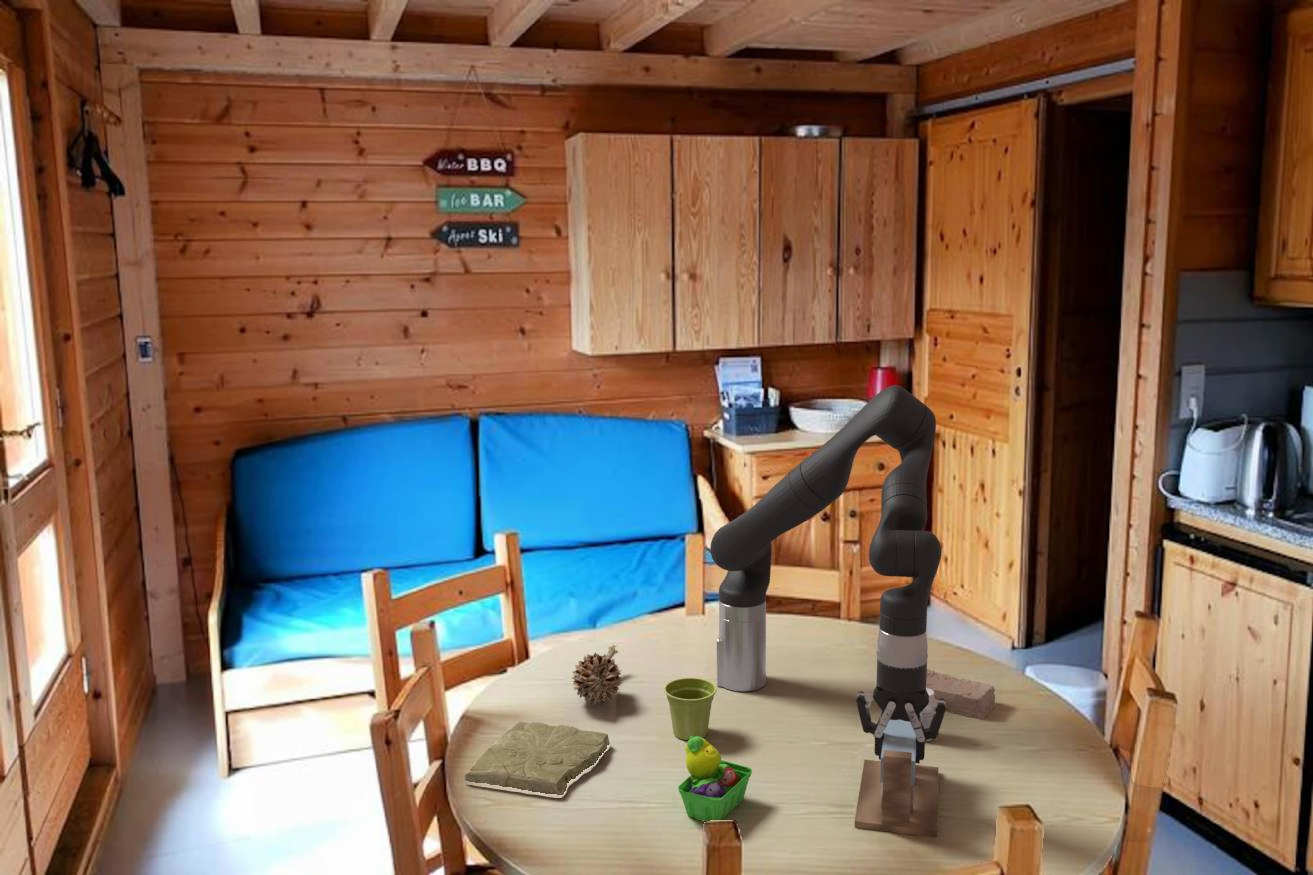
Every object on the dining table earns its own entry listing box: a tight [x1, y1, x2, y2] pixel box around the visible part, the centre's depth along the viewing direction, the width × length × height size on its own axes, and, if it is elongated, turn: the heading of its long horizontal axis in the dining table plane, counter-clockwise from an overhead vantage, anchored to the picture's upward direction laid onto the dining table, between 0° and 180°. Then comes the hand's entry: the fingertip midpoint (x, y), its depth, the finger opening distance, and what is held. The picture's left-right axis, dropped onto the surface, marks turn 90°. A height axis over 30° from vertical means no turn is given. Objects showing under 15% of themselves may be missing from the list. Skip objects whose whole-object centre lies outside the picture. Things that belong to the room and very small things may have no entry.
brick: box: [926, 668, 996, 720], centre depth 207 cm, size 17×8×5 cm, turn 55°
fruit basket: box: [677, 736, 753, 822], centre depth 170 cm, size 11×9×11 cm
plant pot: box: [663, 677, 718, 741], centre depth 195 cm, size 9×9×9 cm
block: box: [880, 720, 917, 786], centre depth 171 cm, size 5×14×4 cm, turn 165°
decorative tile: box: [464, 721, 611, 795], centre depth 185 cm, size 19×20×4 cm
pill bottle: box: [920, 688, 934, 743], centre depth 192 cm, size 5×5×8 cm
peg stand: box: [854, 750, 939, 838], centre depth 171 cm, size 12×20×12 cm, turn 165°
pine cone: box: [571, 644, 623, 706], centre depth 213 cm, size 22×10×10 cm, turn 175°
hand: (899, 758), depth 171 cm, fingers closed on block, 5 cm apart
